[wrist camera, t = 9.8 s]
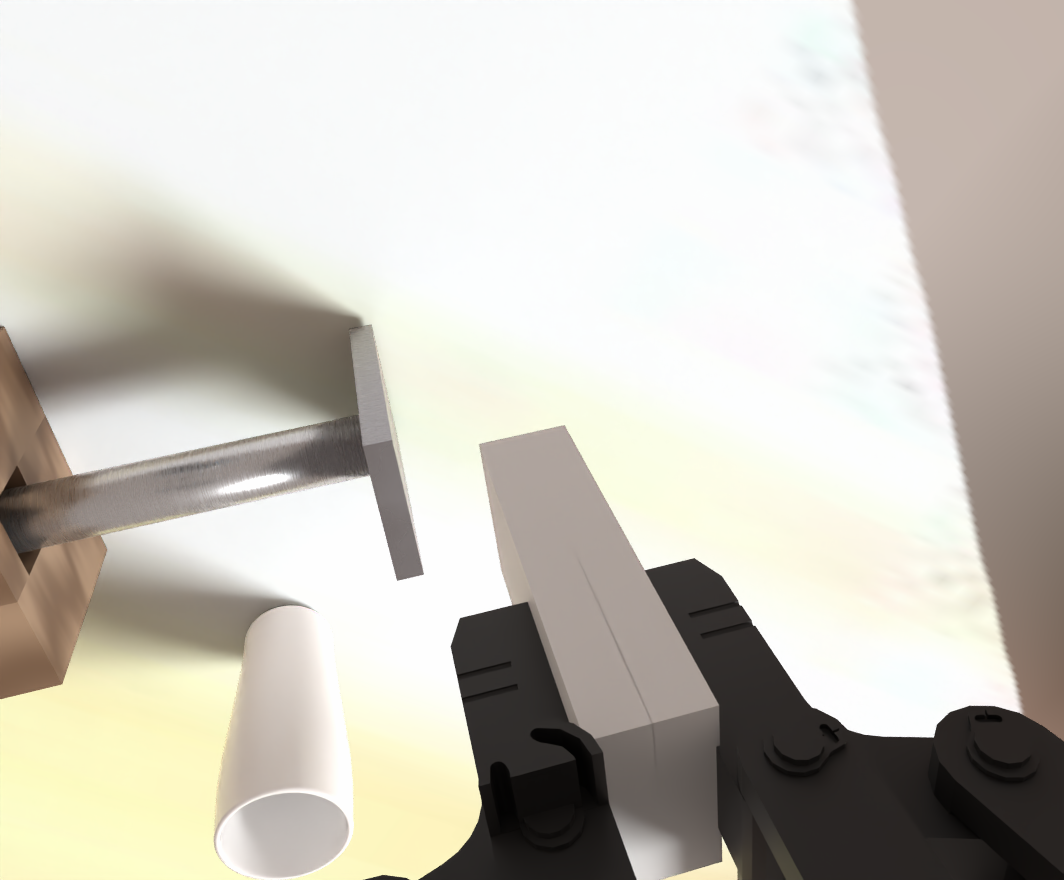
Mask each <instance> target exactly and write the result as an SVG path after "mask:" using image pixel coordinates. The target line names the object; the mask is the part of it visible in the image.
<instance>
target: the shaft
mask: <svg viewBox="0 0 1064 880" xmlns="http://www.w3.org/2000/svg"><path fill="white" fill-rule="evenodd" d="M349 333H350V342H351V350H352V359H353V367H354V376H355V385H356V393H357V402H358V410H359V415H355V416H351V417H346V418H341V419H336V420H332V421H327V422H322V423H318V424H313V425H308V426H303V427H299V428H294V429H289V430H285V431H280V432H275V433H270V434H266V435H261V436H256V437H252V438H247V439H242V440H237V441H233V442H228V443H223V444H219V445H214V446H209V447H204V448H200V449H195V450H190V451H186V452H181V453H176V454H171V455H167V456H162V457H157V458H153V459H148V460H143V461H138V462H134V463H129V464H124V465H120V466H115V467H110V468H105V469H101V470H96V471H91V472H87V473H82V474H77V475H72V476H68V477H63V478H58V479H54V480H49V481H44V482H39V483H35V484H30V485H25V486H21V487H16V488H11V489H6V490H3V491H2V493H1V495H0V522H1V524H2V525H3V527H4V529H5V531H6V533H7V535H8V537H9V539H10V541H11V543H12V544H13V546H14V548H15V550H16V552H17V554H18V553H23V552H27V551H32V550H36V549H41V548H45V547H50V546H54V545H59V544H63V543H68V542H72V541H77V540H81V539H86V538H90V537H95V536H99V535H104V534H108V533H113V532H117V531H122V530H126V529H131V528H135V527H140V526H144V525H149V524H154V523H158V522H163V521H167V520H172V519H176V518H181V517H185V516H190V515H194V514H199V513H203V512H208V511H212V510H217V509H221V508H226V507H230V506H235V505H239V504H244V503H248V502H253V501H257V500H262V499H266V498H271V497H275V496H280V495H284V494H289V493H293V492H298V491H302V490H307V489H311V488H316V487H320V486H325V485H329V484H334V483H339V482H343V481H348V480H352V479H357V478H361V477H366V476H370V477H371V481H372V484H373V488H374V492H375V496H376V500H377V504H378V508H379V512H380V516H381V520H382V523H383V527H384V531H385V535H386V539H387V543H388V547H389V551H390V555H391V559H392V562H393V566H394V570H395V574H396V578H397V581H398V580H402V579H407V578H411V577H415V576H419V575H423V574H424V573H423V567H422V562H421V557H420V552H419V547H418V541H417V536H416V531H415V526H414V520H413V515H412V510H411V505H410V500H409V494H408V489H407V484H406V479H405V473H404V468H403V463H402V458H401V453H400V447H399V442H398V437H397V433H396V428H395V424H394V420H393V415H392V411H391V407H390V402H389V398H388V394H387V389H386V385H385V381H384V376H383V372H382V368H381V364H380V359H379V355H378V351H377V346H376V342H375V338H374V333H373V329H372V325H367V326H362V327H357V328H352V329H349Z"/></svg>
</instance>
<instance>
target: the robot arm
mask: <svg viewBox="0 0 1064 880" xmlns="http://www.w3.org/2000/svg"><path fill="white" fill-rule="evenodd" d="M479 446H480V452H481V458H482V463H483V469H484V475H485V480H486V486H487V492H488V497H489V503H490V508H491V514H492V520H493V525H494V531H495V537H496V542H497V548H498V553H499V559H500V565H501V570H502V573H503V577H504V580H505V583H506V586H507V589H508V592H509V595H510V598H511V602H512V606H508V607H504V608H500V609H496V610H492V611H487V612H483V613H479V614H475V615H471V616H467V617H463V618H460V620H459V623H458V626H457V629H456V632H455V635H454V638H453V641H452V644H451V650H452V655H453V659H454V664H455V669H456V674H457V678H458V683H459V688H460V693H461V697H462V702H463V707H464V712H465V716H466V721H467V726H468V731H469V735H470V740H471V745H472V750H473V754H474V759H475V764H476V769H477V773H478V778H479V791H480V795H481V799H482V807H481V811H480V816H479V820H478V823H477V825H476V827H475V829H474V831H473V833H472V835H471V837H470V838H469V839H468V841H467V842H466V843H465V844H464V845H463V847H462V848H461V849H460V850H459V852H457V853H456V854H455V855H454V856H452V857H451V858H450V859H449V860H447V861H446V862H445V863H444V864H442V865H441V866H439V867H438V868H436V869H434V870H433V871H431V872H430V873H428V874H427V875H425V876H424V877H422V878H420V879H419V880H661V879H665V878H668V877H671V876H675V875H678V874H681V873H685V872H688V871H692V870H695V869H698V868H702V867H705V866H708V865H712V864H715V863H719V862H722V837H723V839H724V841H725V843H726V845H727V848H728V850H729V852H730V854H731V856H732V858H733V860H734V862H735V864H736V867H737V869H738V880H1064V741H1062V740H1061V739H1059V738H1058V737H1057V736H1056V735H1054V734H1053V733H1052V732H1050V731H1049V730H1047V729H1046V728H1045V727H1043V726H1042V725H1040V724H1038V723H1036V722H1035V721H1033V720H1031V719H1029V718H1027V717H1026V716H1024V715H1022V714H1020V713H1017V712H1013V711H1010V710H1006V709H1003V708H999V707H995V706H968V707H965V708H962V709H958V710H955V711H952V712H950V713H949V714H948V715H946V716H945V717H944V718H943V719H942V720H941V721H940V722H939V723H938V724H937V727H936V731H935V736H934V738H927V737H880V736H871V735H863V734H860V733H856V732H853V731H849V730H847V729H846V728H845V727H844V726H843V725H842V724H841V723H840V722H839V721H838V720H837V719H835V718H833V717H831V716H829V715H828V714H826V713H824V712H822V711H820V710H818V709H815V708H812V707H811V706H810V705H809V704H808V703H807V702H806V700H805V699H804V698H803V696H802V695H801V693H800V692H799V690H798V689H797V687H796V686H795V685H794V683H793V682H792V680H791V679H790V677H789V676H788V674H787V673H786V671H785V670H784V668H783V667H782V665H781V664H780V662H779V661H778V659H777V658H776V656H775V655H774V653H773V652H772V650H771V649H770V647H769V646H768V644H767V643H766V641H765V640H764V638H763V637H762V635H761V634H760V632H759V631H758V629H757V628H756V626H753V625H752V620H751V619H750V617H749V616H748V614H747V613H746V612H745V610H744V609H743V607H742V606H740V605H739V603H738V600H737V598H736V597H735V595H734V594H733V592H732V591H731V589H730V588H729V586H728V585H727V583H726V582H725V580H724V579H723V577H722V576H721V575H719V574H718V573H716V572H715V571H713V570H711V569H710V568H708V567H707V566H705V565H704V564H702V563H701V562H699V561H698V560H696V559H695V558H693V559H689V560H685V561H681V562H677V563H673V564H669V565H665V566H661V567H657V568H653V569H649V570H644V568H643V567H642V565H641V563H640V561H639V559H638V558H637V556H636V554H635V552H634V550H633V548H632V547H631V545H630V543H629V541H628V539H627V538H626V536H625V534H624V532H623V530H622V529H621V527H620V525H619V523H618V521H617V520H616V518H615V516H614V514H613V512H612V510H611V509H610V507H609V505H608V503H607V501H606V500H605V498H604V496H603V494H602V492H601V491H600V489H599V487H598V485H597V483H596V481H595V480H594V478H593V476H592V474H591V472H590V471H589V469H588V467H587V465H586V463H585V462H584V460H583V458H582V456H581V454H580V452H579V451H578V449H577V447H576V445H575V443H574V442H573V440H572V438H571V436H570V434H569V433H568V431H567V429H566V427H565V425H563V426H559V427H554V428H550V429H545V430H541V431H536V432H532V433H527V434H523V435H518V436H514V437H509V438H504V439H500V440H495V441H491V442H486V443H482V444H479ZM365 880H409V879H407V878H403V877H395V876H387V875H381V876H377V877H373V878H369V879H365Z"/></svg>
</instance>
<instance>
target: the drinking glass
mask: <svg viewBox="0 0 1064 880" xmlns="http://www.w3.org/2000/svg"><path fill="white" fill-rule="evenodd" d="M353 815H354V798H353V775H352V764H351V755H350V749H349V742H348V736H347V730H346V725H345V719H344V713H343V707H342V701H341V695H340V690H339V683H338V677H337V671H336V665H335V658H334V647H333V634H332V630H331V628H330V625H329V624H328V622H327V621H326V620H325V618H324V617H323V616H321V615H320V614H319V613H317V612H316V611H314V610H312V609H309V608H306V607H302V606H295V605H288V606H281V607H277V608H273V609H271V610H269V611H267V612H265V613H263V614H262V615H260V616H259V617H258V618H257V619H256V620H255V621H254V622H253V623H252V624H251V626H250V628H249V629H248V632H247V634H246V638H245V644H244V655H243V661H242V666H241V671H240V676H239V681H238V685H237V690H236V695H235V699H234V704H233V709H232V713H231V718H230V722H229V727H228V731H227V736H226V740H225V745H224V749H223V754H222V759H221V765H220V771H219V777H218V784H217V793H216V804H215V821H214V847H215V850H216V853H217V855H218V857H219V858H220V859H221V861H222V862H223V863H224V864H225V865H226V866H227V867H229V868H230V869H232V870H233V871H235V872H237V873H239V874H241V875H244V876H247V877H251V878H255V879H261V880H286V879H292V878H297V877H301V876H304V875H307V874H310V873H313V872H315V871H317V870H319V869H321V868H323V867H325V866H327V865H328V864H330V863H331V862H332V861H334V860H335V859H336V858H337V857H338V856H339V855H340V854H341V853H342V852H343V851H344V850H345V848H346V847H347V845H348V844H349V842H350V840H351V837H352V833H353V827H354V823H353Z"/></svg>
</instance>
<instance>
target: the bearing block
mask: <svg viewBox="0 0 1064 880" xmlns="http://www.w3.org/2000/svg"><path fill="white" fill-rule="evenodd" d="M68 476H72V473H71V470H70V468H69V466H68V464H67V462H66V460H65V457H64V455H63V453H62V451H61V449H60V447H59V444H58V442H57V440H56V438H55V436H54V434H53V431H52V429H51V427H50V425H49V423H48V420H47V418H46V416H45V414H44V412H43V410H42V407H41V405H40V403H39V401H38V399H37V397H36V394H35V392H34V390H33V388H32V386H31V384H30V381H29V379H28V377H27V375H26V373H25V371H24V368H23V366H22V364H21V362H20V360H19V358H18V355H17V353H16V351H15V349H14V347H13V345H12V342H11V340H10V338H9V336H8V334H7V332H6V329H5V327H2V328H0V495H1V493H2V491H3V490H6V489H11V488H16V487H21V486H25V485H30V484H35V483H39V482H44V481H49V480H54V479H58V478H63V477H68ZM106 552H107V549H106V546H105V544H104V542H103V540H102V538H101V536H100V535H99V536H95V537H90V538H86V539H81V540H77V541H72V542H68V543H63V544H59V545H54V546H50V547H45V548H41V549H36V550H32V551H27V552H23V553H18V554H17V552H16V550H15V548H14V546H13V544H12V543H11V541H10V539H9V537H8V535H7V533H6V531H5V529H4V527H3V525H2V524H1V522H0V699H3V698H7V697H11V696H16V695H20V694H24V693H28V692H32V691H36V690H40V689H45V688H49V687H53V686H57V685H61V684H62V683H63V680H64V677H65V674H66V671H67V668H68V665H69V662H70V659H71V656H72V653H73V650H74V647H75V644H76V641H77V638H78V635H79V632H80V629H81V626H82V623H83V620H84V617H85V614H86V611H87V609H88V606H89V603H90V600H91V597H92V594H93V591H94V588H95V585H96V582H97V579H98V576H99V573H100V570H101V567H102V564H103V561H104V558H105V555H106Z"/></svg>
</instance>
